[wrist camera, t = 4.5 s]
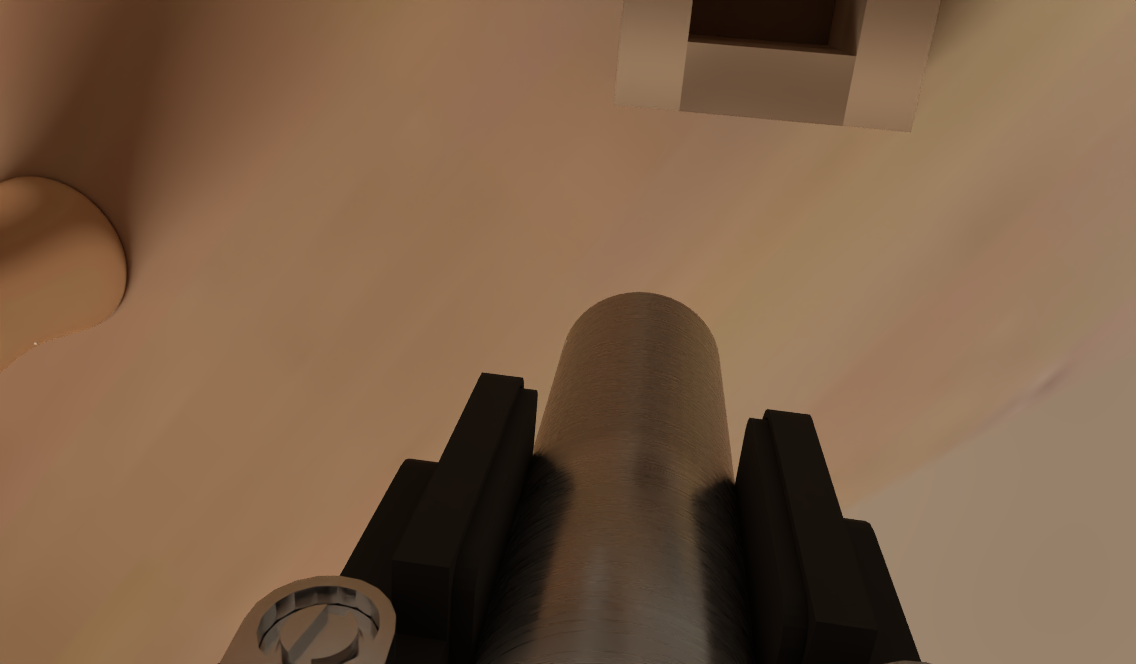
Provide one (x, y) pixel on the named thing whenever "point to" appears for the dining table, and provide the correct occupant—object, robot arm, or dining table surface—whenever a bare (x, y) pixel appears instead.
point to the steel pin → (627, 504)
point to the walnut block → (780, 66)
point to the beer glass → (53, 264)
